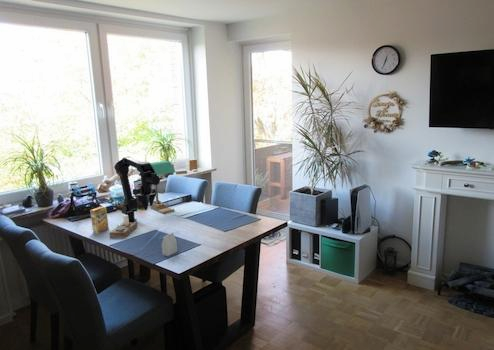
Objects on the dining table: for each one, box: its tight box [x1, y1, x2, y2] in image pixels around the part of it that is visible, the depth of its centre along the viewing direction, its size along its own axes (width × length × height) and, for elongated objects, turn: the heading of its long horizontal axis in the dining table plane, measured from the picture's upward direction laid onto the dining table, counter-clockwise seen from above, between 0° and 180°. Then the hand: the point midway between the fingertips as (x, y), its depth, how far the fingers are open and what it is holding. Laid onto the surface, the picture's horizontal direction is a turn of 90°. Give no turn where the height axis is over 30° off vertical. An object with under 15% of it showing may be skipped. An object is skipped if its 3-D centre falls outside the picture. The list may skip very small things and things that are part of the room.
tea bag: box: [161, 232, 178, 257], centre depth 199 cm, size 4×7×10 cm, turn 146°
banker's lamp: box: [149, 160, 176, 215], centre depth 276 cm, size 16×21×35 cm
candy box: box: [89, 205, 110, 234], centre depth 236 cm, size 9×4×15 cm, turn 150°
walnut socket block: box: [109, 222, 138, 239], centre depth 232 cm, size 18×9×4 cm, turn 174°
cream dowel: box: [122, 214, 129, 226], centre depth 236 cm, size 3×3×9 cm
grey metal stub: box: [116, 223, 123, 231], centre depth 227 cm, size 3×3×6 cm
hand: (148, 207), depth 241 cm, fingers open, 9 cm apart
